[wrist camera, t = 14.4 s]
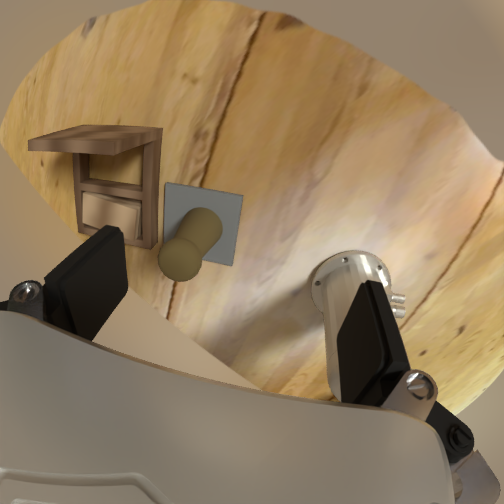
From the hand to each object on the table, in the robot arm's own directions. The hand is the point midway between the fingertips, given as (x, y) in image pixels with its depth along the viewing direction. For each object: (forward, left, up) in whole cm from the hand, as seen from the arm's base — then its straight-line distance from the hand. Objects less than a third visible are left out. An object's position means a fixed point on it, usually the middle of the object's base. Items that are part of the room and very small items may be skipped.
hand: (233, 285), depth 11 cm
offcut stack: (+23, +12, -29) cm, 39 cm away
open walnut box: (+23, +8, -28) cm, 37 cm away
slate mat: (+9, +12, -28) cm, 32 cm away
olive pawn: (+8, +12, -28) cm, 32 cm away
